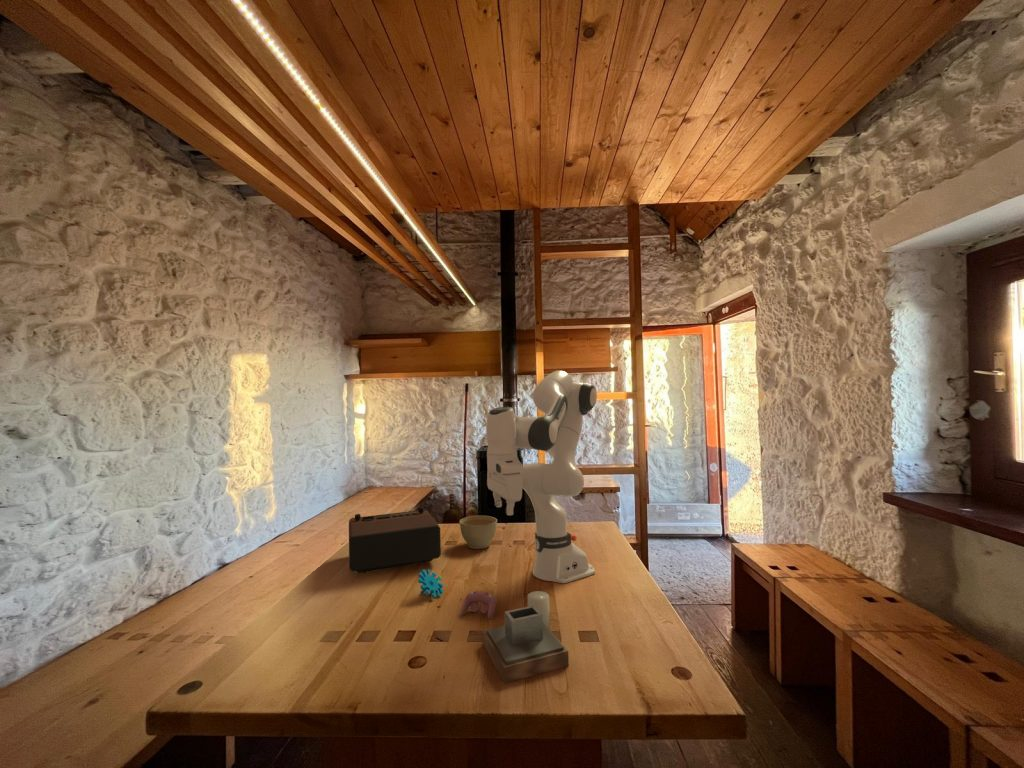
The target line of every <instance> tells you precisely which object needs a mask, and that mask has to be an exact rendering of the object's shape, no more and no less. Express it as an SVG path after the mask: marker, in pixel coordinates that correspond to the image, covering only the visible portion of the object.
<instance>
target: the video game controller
mask: <svg viewBox="0 0 1024 768" xmlns="http://www.w3.org/2000/svg"><path fill="white" fill-rule="evenodd" d="M479 603H481V604H482V605H481V606H480V605H479ZM496 604H497V598H496V596H494V595H492V594H490V593H489V592H486V591H483V590H482V591H481V590H476V591H475V590H474V591H471V592H469V593H468V594H467V595H466V596H465V598H464V601H463V604H462V605H461V609H460V613H461V616H465V615H466V613H467V612H468V611H469V608H470V610H471V612H473V613H478V612H479V610H480V612H481V613H482V614H487V619H488V620H489V621H490V620H491V619H492V618H493V617H494V614H495V613H494V612H495V607H496Z"/></svg>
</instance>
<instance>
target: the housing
mask: <svg viewBox="0 0 1024 768" xmlns="http://www.w3.org/2000/svg"><path fill="white" fill-rule="evenodd" d="M504 626H505V637H506V638H507V640H508V641H509V643H510V644H511V646H512V647H515V646H519V645H523V644H527V643H531V642H535V641H539V640H543V619H542V614H541V612H540V611H539V610H538V609H537V608H536V607H535V606H529V607H528V606H525V607H521V608H520V607H519V608H515V609H511V610H507V611H504Z"/></svg>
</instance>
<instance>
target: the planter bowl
mask: <svg viewBox="0 0 1024 768" xmlns="http://www.w3.org/2000/svg"><path fill="white" fill-rule="evenodd" d="M497 523H498V519H497V518H496V517H493V516H489V515H470V516H466V517H464V518H461V519H460V520H459V525H460V532H461V535H462V538H463V539H464V541H465V543H466V545H467V547H468V548H470V549H475V550H480V549H486V548H488V547H490V545H491V544H490V543H491V542H492V540H493V539H494V538H495V534H496V532H497Z"/></svg>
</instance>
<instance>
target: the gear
mask: <svg viewBox="0 0 1024 768" xmlns="http://www.w3.org/2000/svg"><path fill="white" fill-rule="evenodd" d="M431 572H432V571H431V569H429V568H428V569H427V570H426V569H421V571H420V572H419V573H418V574H417V576H418V580H417V582H418V583H419V584H420V585H419V586H420V589H421V590H420V592H419V593H420V595H423V594H424V593H425V594H426V596H429V595H430V594H431V595H430V597H431V598H433V599H434V598H440V597H441V595H442V594H443V593H444V589H443V587H444V584H443V583H441V581H442V578H443V577H442V575H438V577H436V576H437V573H436V572H435V571H433V572H432V573H431Z"/></svg>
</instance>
